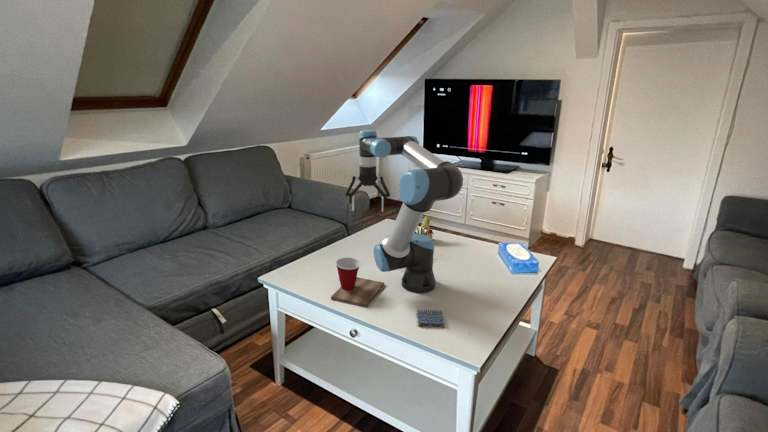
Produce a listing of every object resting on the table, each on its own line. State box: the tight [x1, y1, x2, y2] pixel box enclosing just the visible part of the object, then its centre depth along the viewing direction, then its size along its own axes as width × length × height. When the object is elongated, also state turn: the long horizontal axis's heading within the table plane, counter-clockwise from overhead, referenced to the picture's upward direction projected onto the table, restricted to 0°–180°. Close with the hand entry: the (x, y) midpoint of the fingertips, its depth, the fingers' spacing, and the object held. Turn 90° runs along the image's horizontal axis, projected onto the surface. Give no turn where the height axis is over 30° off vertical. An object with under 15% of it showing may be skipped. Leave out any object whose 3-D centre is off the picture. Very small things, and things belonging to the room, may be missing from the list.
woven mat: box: [416, 309, 446, 328], centre depth 158 cm, size 10×11×2 cm
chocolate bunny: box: [419, 215, 434, 239], centre depth 229 cm, size 7×11×15 cm, turn 143°
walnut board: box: [330, 277, 385, 308], centre depth 177 cm, size 16×20×1 cm
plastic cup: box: [335, 256, 362, 290], centre depth 176 cm, size 11×11×12 cm
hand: (367, 210), depth 191 cm, fingers open, 13 cm apart
